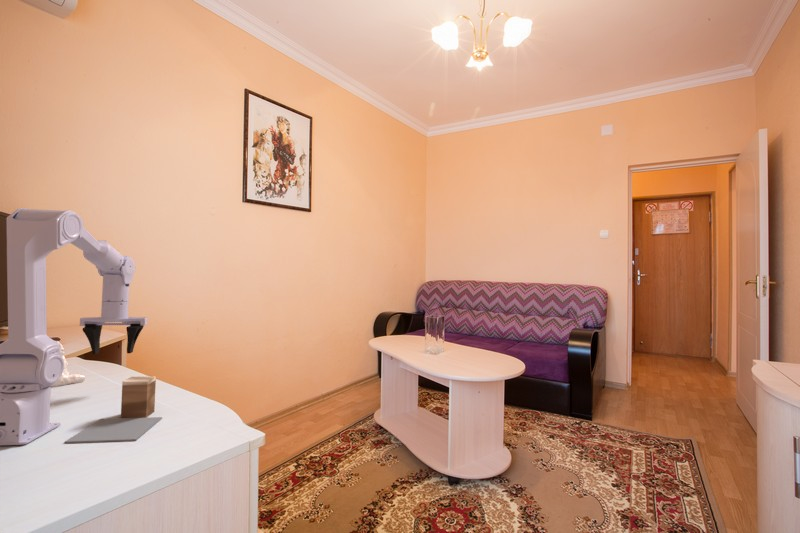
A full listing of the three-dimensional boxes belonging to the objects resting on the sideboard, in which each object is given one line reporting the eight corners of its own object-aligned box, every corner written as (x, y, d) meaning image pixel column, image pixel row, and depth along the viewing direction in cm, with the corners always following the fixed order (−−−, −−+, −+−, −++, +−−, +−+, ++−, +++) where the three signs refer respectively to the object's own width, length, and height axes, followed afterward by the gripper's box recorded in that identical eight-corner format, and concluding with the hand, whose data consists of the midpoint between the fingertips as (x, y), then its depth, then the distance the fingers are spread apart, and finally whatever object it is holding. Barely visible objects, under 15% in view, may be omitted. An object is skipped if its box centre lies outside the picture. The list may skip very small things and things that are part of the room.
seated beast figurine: (86, 381, 110) (88, 339, 111) (54, 390, 102) (57, 344, 102) (59, 378, 112) (61, 337, 112) (25, 387, 104) (27, 342, 104)
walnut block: (146, 418, 85) (147, 381, 85) (120, 418, 84) (122, 381, 85) (154, 411, 89) (155, 376, 89) (130, 412, 88) (131, 376, 88)
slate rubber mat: (136, 440, 74) (136, 439, 74) (64, 443, 72) (64, 441, 72) (162, 418, 85) (162, 417, 85) (100, 420, 83) (100, 418, 83)
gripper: (151, 300, 108) (149, 349, 108) (89, 299, 104) (87, 350, 104) (143, 302, 102) (140, 354, 101) (76, 301, 98) (73, 356, 97)
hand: (113, 353), depth 102 cm, fingers open, 7 cm apart
